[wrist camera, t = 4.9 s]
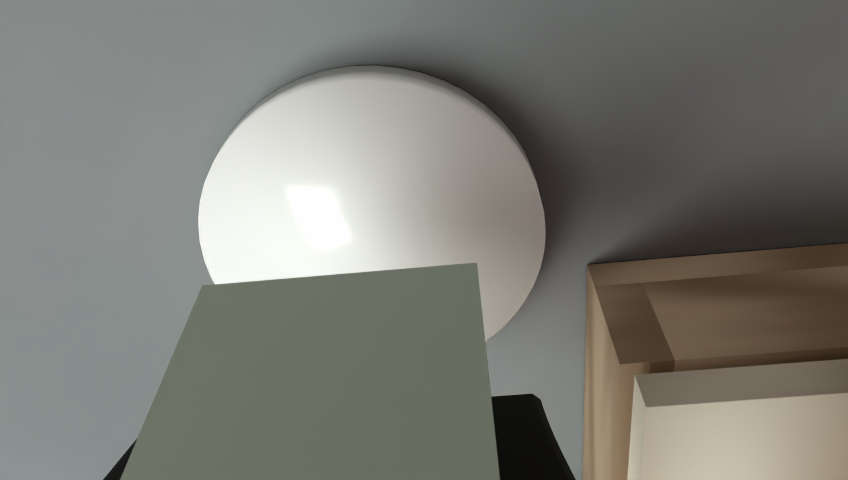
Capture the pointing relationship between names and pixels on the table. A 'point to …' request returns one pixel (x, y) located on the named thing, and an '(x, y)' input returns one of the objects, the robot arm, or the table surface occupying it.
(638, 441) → the lid
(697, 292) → the pencil box
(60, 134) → the table surface
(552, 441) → the robot arm
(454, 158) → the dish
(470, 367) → the green block
